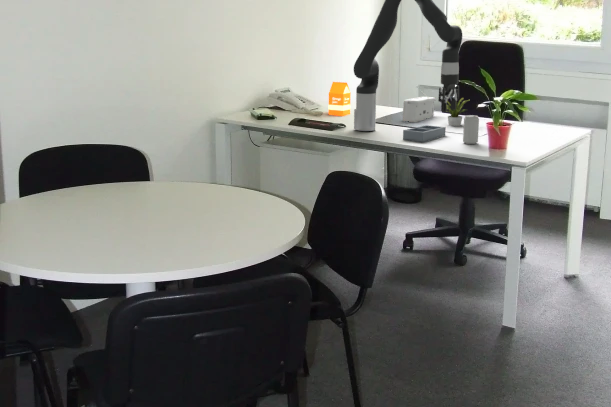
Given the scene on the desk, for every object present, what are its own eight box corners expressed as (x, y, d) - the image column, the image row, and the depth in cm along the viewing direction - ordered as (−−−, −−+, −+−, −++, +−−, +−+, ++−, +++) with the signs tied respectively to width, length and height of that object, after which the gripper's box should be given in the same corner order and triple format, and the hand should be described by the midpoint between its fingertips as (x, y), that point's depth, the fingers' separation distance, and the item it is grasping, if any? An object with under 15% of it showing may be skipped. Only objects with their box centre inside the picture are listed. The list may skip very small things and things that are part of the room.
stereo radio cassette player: (421, 121, 414) (422, 82, 409) (435, 122, 409) (437, 83, 404) (401, 126, 397) (403, 85, 392) (416, 127, 392) (417, 86, 388)
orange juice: (342, 122, 410) (343, 83, 405) (328, 121, 414) (328, 82, 409) (350, 120, 416) (351, 82, 411) (335, 119, 421) (336, 81, 416)
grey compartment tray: (423, 142, 348) (423, 132, 347) (402, 140, 355) (403, 130, 354) (445, 137, 363) (445, 127, 362) (425, 134, 370) (425, 125, 369)
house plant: (470, 127, 393) (472, 94, 389) (473, 131, 380) (475, 97, 376) (441, 126, 395) (442, 93, 391) (443, 131, 381) (444, 96, 377)
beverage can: (477, 144, 343) (479, 117, 340) (462, 144, 345) (464, 116, 342) (477, 142, 349) (479, 115, 346) (462, 141, 351) (464, 114, 348)
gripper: (449, 71, 349) (448, 108, 353) (433, 73, 339) (432, 111, 342) (465, 72, 345) (463, 109, 349) (449, 74, 334) (448, 112, 338)
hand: (448, 110), depth 345 cm, fingers open, 8 cm apart
